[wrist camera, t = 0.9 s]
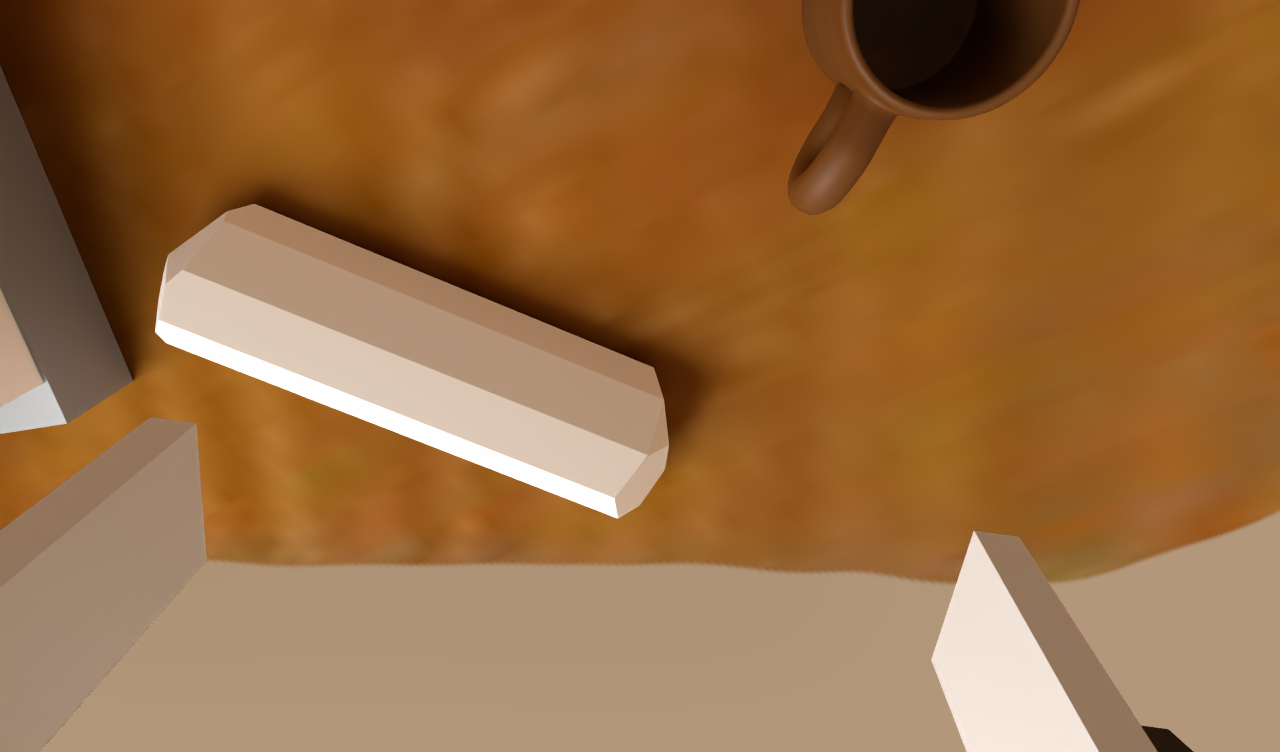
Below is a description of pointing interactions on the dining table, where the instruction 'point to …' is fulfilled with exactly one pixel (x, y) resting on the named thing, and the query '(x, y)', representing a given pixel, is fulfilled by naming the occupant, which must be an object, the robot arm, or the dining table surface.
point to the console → (45, 298)
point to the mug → (913, 73)
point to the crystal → (416, 357)
